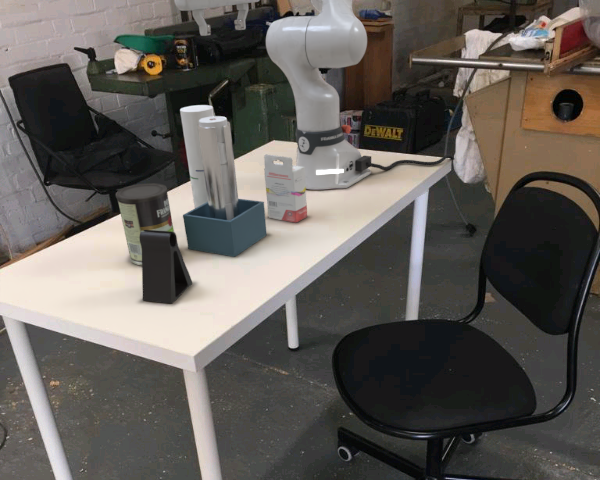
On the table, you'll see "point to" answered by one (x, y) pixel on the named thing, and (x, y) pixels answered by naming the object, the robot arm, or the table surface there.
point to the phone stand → (162, 267)
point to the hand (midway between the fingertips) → (223, 32)
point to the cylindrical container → (195, 149)
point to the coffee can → (143, 214)
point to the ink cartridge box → (285, 189)
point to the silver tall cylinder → (219, 167)
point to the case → (225, 229)
